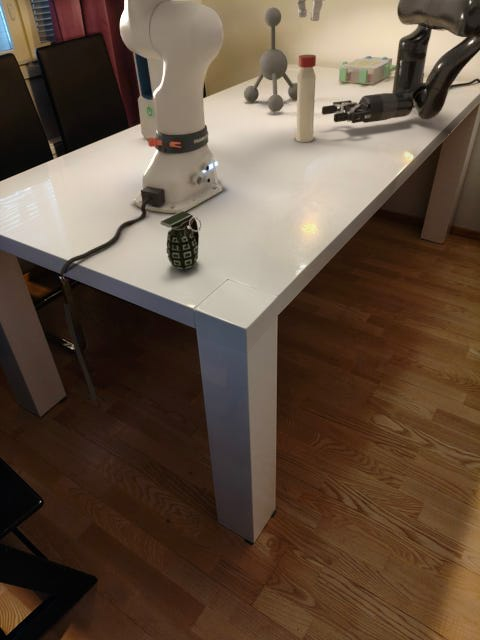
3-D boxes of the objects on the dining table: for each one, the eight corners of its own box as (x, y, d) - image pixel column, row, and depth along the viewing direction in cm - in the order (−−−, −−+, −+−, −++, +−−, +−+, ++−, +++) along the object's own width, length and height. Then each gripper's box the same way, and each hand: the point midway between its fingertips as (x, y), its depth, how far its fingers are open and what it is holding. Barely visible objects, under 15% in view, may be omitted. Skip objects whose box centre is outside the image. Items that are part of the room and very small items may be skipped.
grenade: (182, 278, 88) (175, 228, 82) (162, 268, 91) (153, 219, 85) (208, 263, 92) (203, 214, 85) (187, 253, 95) (181, 205, 89)
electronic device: (141, 137, 154) (123, 28, 136) (159, 131, 158) (144, 24, 140) (166, 145, 147) (151, 30, 129) (185, 138, 151) (172, 26, 133)
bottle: (309, 135, 148) (312, 55, 135) (315, 140, 144) (319, 58, 131) (294, 137, 147) (295, 57, 134) (299, 142, 143) (301, 60, 130)
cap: (312, 63, 136) (312, 53, 134) (317, 66, 132) (318, 56, 131) (296, 65, 135) (296, 55, 133) (301, 68, 131) (302, 58, 130)
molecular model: (322, 103, 175) (328, 5, 157) (274, 116, 166) (273, 12, 147) (282, 92, 191) (282, 1, 172) (235, 103, 181) (230, 8, 163)
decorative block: (357, 54, 211) (402, 57, 202) (356, 70, 215) (400, 74, 206) (330, 65, 195) (377, 69, 186) (329, 83, 199) (375, 87, 190)
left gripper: (283, -47, 126) (283, 16, 134) (314, -47, 110) (311, 24, 118) (306, -49, 127) (305, 14, 135) (340, -49, 111) (335, 22, 120)
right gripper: (368, 88, 149) (319, 95, 146) (392, 99, 138) (339, 106, 135) (365, 114, 154) (317, 121, 151) (388, 127, 143) (337, 134, 140)
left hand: (308, 19), depth 127 cm, fingers open, 7 cm apart
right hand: (328, 114), depth 143 cm, fingers open, 8 cm apart
